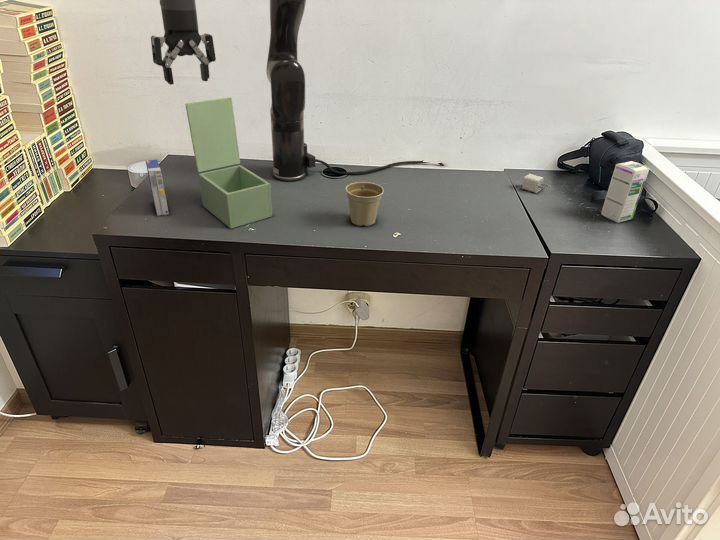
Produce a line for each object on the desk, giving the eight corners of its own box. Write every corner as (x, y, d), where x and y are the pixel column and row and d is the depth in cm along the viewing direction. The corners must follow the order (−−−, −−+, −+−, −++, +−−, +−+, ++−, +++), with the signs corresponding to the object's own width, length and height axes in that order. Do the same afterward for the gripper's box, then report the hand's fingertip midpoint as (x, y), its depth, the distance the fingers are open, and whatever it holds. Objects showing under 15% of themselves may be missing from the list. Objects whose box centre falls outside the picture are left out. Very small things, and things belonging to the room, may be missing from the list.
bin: (272, 216, 127) (270, 183, 122) (230, 228, 121) (226, 194, 116) (243, 195, 137) (240, 164, 132) (202, 205, 131) (198, 173, 126)
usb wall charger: (527, 185, 150) (530, 173, 148) (549, 192, 147) (553, 179, 145) (521, 189, 148) (524, 176, 146) (543, 196, 144) (547, 183, 142)
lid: (231, 97, 124) (221, 95, 128) (186, 103, 118) (177, 101, 122) (240, 163, 132) (230, 159, 136) (198, 172, 125) (189, 167, 129)
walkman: (153, 203, 131) (144, 159, 124) (165, 202, 132) (156, 158, 125) (157, 216, 125) (148, 170, 118) (169, 214, 126) (160, 168, 119)
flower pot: (386, 216, 129) (388, 185, 125) (375, 232, 122) (377, 199, 117) (352, 210, 132) (353, 179, 127) (339, 225, 124) (339, 193, 119)
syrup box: (617, 223, 131) (636, 170, 123) (599, 214, 135) (616, 162, 127) (632, 219, 133) (651, 167, 125) (613, 210, 138) (631, 159, 130)
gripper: (152, 9, 106) (164, 88, 115) (215, 8, 114) (222, 82, 123) (140, 5, 111) (152, 82, 120) (201, 4, 119) (209, 76, 128)
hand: (188, 82), depth 121 cm, fingers open, 8 cm apart
